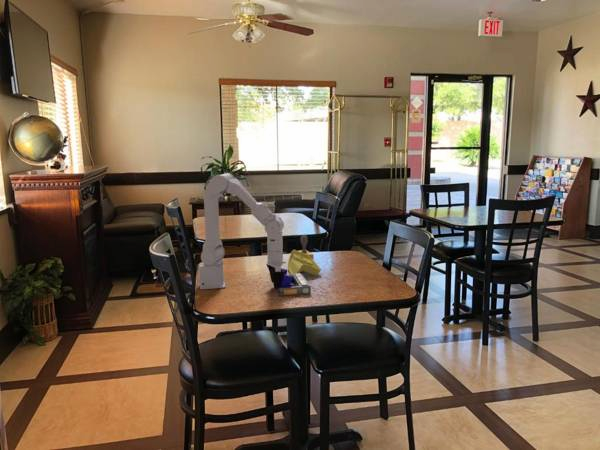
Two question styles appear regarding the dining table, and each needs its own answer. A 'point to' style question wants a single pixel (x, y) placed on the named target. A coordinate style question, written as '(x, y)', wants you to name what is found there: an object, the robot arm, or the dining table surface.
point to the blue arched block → (286, 280)
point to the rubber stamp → (304, 243)
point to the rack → (296, 286)
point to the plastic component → (302, 264)
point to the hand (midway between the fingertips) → (275, 285)
